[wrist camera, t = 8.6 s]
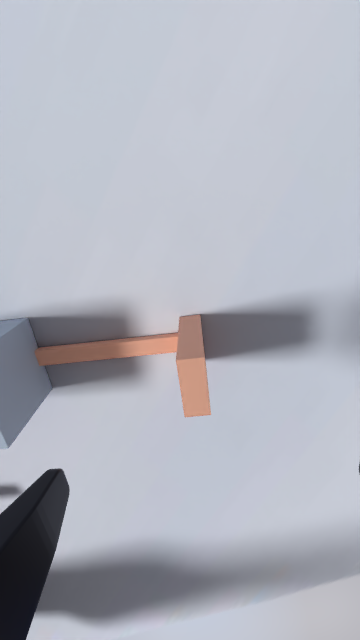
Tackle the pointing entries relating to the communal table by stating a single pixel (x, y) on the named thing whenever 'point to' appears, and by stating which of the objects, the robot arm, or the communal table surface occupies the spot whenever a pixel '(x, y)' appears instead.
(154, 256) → the communal table surface
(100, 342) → the wooden bar with block
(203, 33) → the communal table surface
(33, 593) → the robot arm
